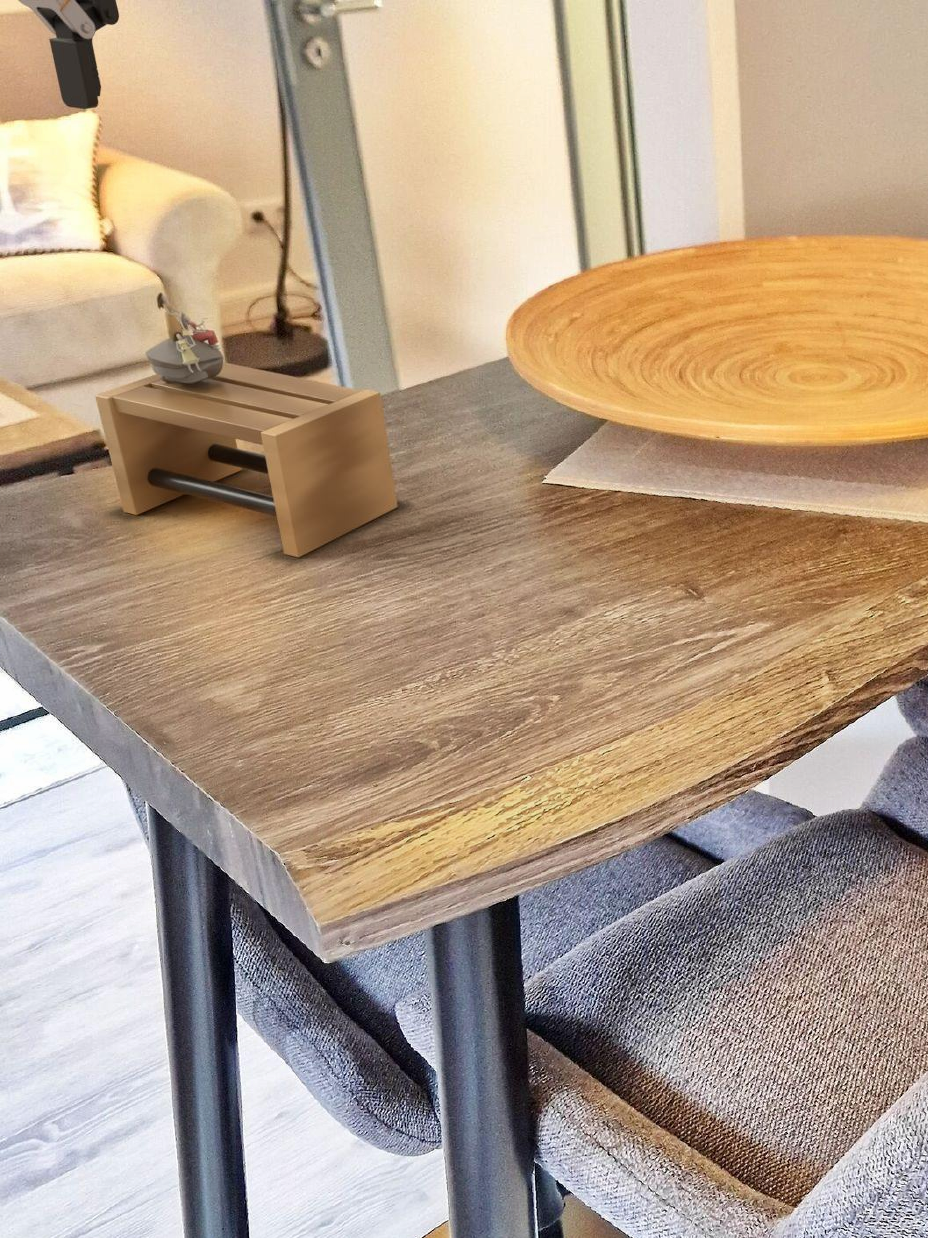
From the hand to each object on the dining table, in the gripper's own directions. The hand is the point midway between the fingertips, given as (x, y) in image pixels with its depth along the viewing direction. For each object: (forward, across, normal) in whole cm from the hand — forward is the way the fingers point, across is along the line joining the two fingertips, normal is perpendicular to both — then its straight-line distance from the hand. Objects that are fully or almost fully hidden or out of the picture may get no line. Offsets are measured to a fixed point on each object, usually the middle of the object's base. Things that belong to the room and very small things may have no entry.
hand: (16, 116), depth 85 cm
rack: (+25, -6, +7) cm, 26 cm away
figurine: (+17, -6, +3) cm, 18 cm away
